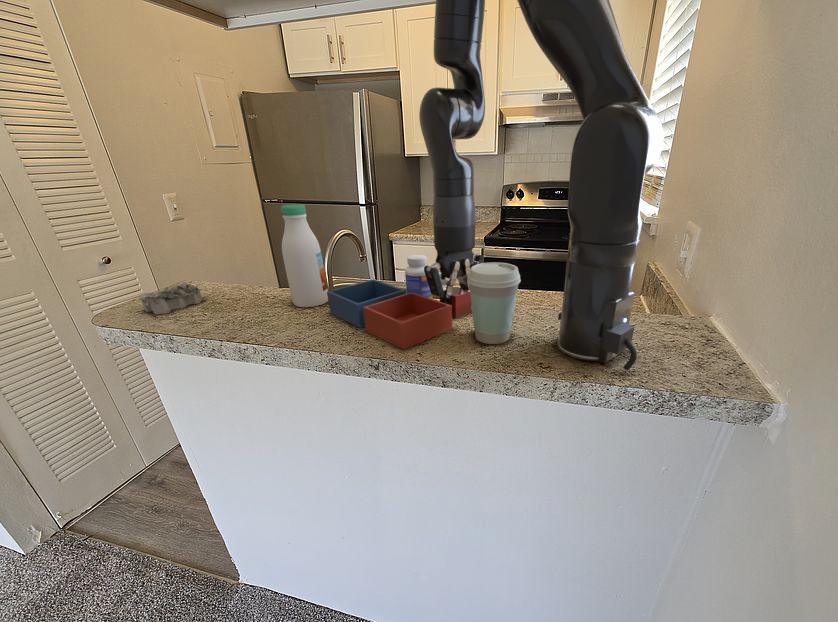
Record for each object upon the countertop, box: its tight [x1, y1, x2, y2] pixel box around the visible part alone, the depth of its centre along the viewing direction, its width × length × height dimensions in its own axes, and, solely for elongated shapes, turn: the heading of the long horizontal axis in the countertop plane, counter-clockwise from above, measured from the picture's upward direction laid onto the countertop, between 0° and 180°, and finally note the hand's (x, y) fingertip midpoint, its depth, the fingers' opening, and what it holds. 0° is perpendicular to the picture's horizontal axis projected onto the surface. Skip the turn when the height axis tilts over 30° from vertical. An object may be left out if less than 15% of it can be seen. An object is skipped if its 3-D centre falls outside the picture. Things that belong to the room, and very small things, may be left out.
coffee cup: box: [467, 261, 522, 345], centre depth 67 cm, size 8×8×12 cm
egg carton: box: [138, 281, 203, 315], centre depth 88 cm, size 11×8×4 cm
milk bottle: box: [280, 203, 329, 308], centre depth 84 cm, size 8×8×20 cm
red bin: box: [363, 292, 453, 350], centre depth 72 cm, size 11×11×5 cm
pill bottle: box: [404, 254, 433, 299], centre depth 84 cm, size 5×5×10 cm
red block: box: [445, 286, 473, 319], centre depth 79 cm, size 4×4×4 cm
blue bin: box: [327, 279, 407, 329], centre depth 81 cm, size 11×11×5 cm
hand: (456, 310), depth 80 cm, fingers closed on red block, 4 cm apart
